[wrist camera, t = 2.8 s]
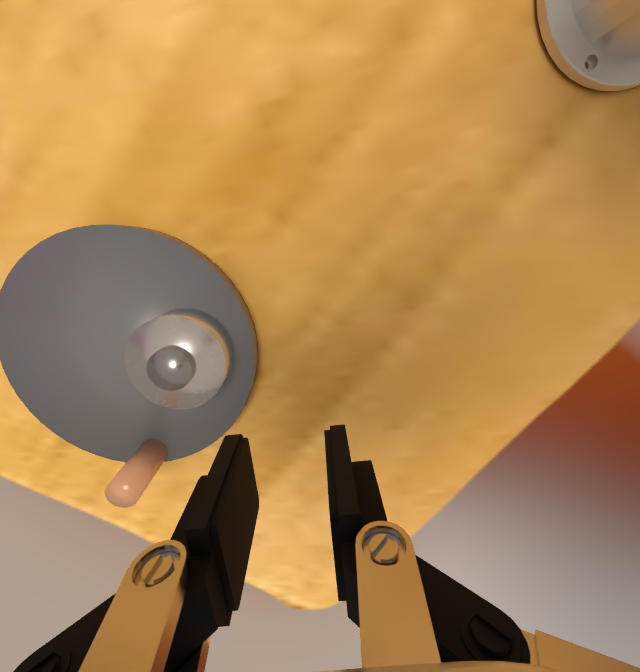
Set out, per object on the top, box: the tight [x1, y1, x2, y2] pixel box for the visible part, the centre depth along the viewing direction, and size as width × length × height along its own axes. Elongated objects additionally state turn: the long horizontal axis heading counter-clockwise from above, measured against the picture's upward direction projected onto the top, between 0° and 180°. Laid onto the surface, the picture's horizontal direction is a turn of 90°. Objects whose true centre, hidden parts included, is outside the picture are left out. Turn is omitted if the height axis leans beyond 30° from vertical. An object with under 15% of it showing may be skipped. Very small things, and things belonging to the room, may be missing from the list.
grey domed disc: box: [0, 225, 258, 508], centre depth 25 cm, size 20×20×7 cm
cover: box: [124, 308, 234, 409], centre depth 24 cm, size 7×7×4 cm
